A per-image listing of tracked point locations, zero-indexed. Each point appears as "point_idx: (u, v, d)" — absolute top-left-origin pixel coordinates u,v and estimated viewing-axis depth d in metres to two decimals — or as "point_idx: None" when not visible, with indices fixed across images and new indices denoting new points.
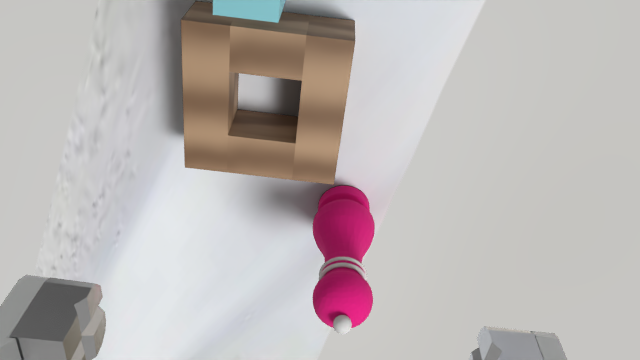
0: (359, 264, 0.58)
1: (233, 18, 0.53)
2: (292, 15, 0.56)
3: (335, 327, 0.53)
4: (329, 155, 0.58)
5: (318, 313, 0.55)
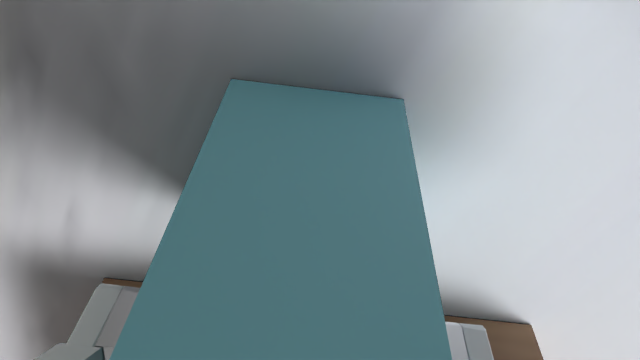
0: None
1: None
2: None
3: None
4: None
5: None
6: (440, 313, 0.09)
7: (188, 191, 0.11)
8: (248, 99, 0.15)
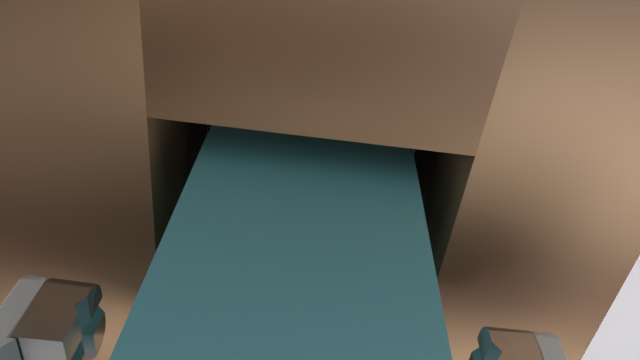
0: None
1: None
2: None
3: None
4: None
5: None
6: (429, 254, 0.11)
7: (203, 154, 0.13)
8: None
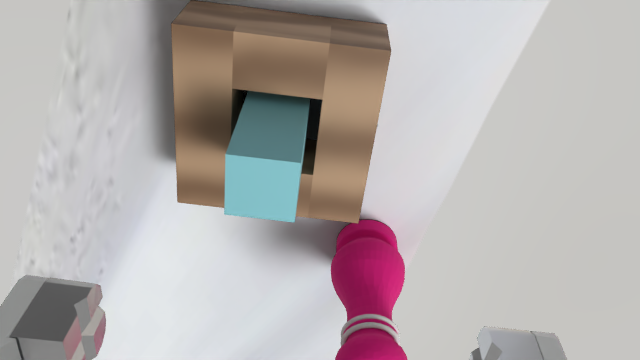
0: (391, 323, 0.47)
1: (237, 21, 0.42)
2: (310, 18, 0.45)
3: None
4: (354, 189, 0.48)
5: None
6: (305, 122, 0.42)
7: (246, 99, 0.44)
8: None
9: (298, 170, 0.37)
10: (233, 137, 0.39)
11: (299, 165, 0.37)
